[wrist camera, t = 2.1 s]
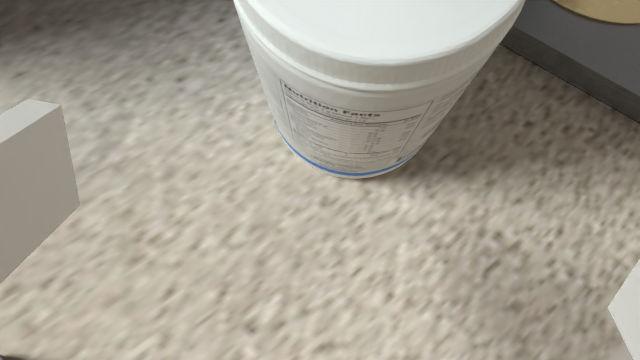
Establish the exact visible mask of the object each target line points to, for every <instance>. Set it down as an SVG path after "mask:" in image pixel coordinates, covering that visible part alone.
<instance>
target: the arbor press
mask: <svg viewBox="0 0 640 360" xmlns="http://www.w3.org/2000/svg"><path fill="white" fill-rule="evenodd" d="M500 44H501V45H503V46H505V47H506V48H508V49H510V50H512V51H514V52H515V53H517V54H519V55H521V56H522V57H524V58H526V59H528V60H529V61H531V62H533V63H535V64H536V65H538V66H540V67H542V68H544V69H545V70H547V71H549V72H551V73H552V74H554V75H556V76H558V77H559V78H561V79H563V80H565V81H566V82H568V83H570V84H572V85H574V86H575V87H577V88H579V89H581V90H582V91H584V92H586V93H588V94H589V95H591V96H593V97H595V98H597V99H598V100H600V101H602V102H604V103H605V104H607V105H609V106H611V107H612V108H614V109H616V110H618V111H619V112H621V113H623V114H625V115H627V116H628V117H630V118H632V119H634V120H635V121H637V122H639V123H640V0H525V2H524V5H523V7H522V10H521V12H520V13H519V15H518V17H517V19H516V20H515V22H514V24H513V26H512V27H511V29H510V30H509V31H508V33H507V34H506V35H505V37H504V38H503V40H502V41H501V42H500Z"/></svg>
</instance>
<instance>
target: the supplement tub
mask: <svg viewBox="0 0 640 360" xmlns="http://www.w3.org/2000/svg"><path fill="white" fill-rule="evenodd" d="M233 1H234V4H235V7H236V10H237V13H238V16H239V19H240V23H241V26H242V28H243V31H244V34H245V37H246V40H247V43H248V46H249V49H250V52H251V55H252V57H253V60H254V63H255V66H256V69H257V72H258V75H259V78H260V81H261V84H262V87H263V90H264V93H265V96H266V99H267V102H268V105H269V108H270V111H271V114H272V117H273V120H274V122H275V125H276V127H277V130H278V132H279V134H280V136H281V138H282V139H283V141H284V142H285V144H286V145H287V146H288V148H289V149H290V150H291V151H292V152H293V153H294V154H295V155H296V156H297V157H298V158H299V159H300V160H302V161H303V162H304V163H306V164H307V165H309V166H311V167H312V168H314V169H316V170H318V171H320V172H323V173H325V174H328V175H331V176H335V177H341V178H348V179H359V178H369V177H373V176H378V175H381V174H384V173H387V172H390V171H392V170H394V169H396V168H398V167H400V166H401V165H403V164H404V163H405V162H407V161H408V160H409V159H411V158H412V157H413V156H414V155H415V154H416V153H417V152H418V151H419V150H420V149H421V147H422V146H423V145H424V144H425V142H426V141H427V140H428V139H429V137H430V136H431V135H432V133H433V132H434V131H435V129H436V128H437V127H438V125H439V124H440V123H441V121H442V120H443V119H444V117H445V116H446V115H447V113H448V112H449V111H450V109H451V108H452V107H453V105H454V104H455V103H456V101H457V100H458V99H459V97H460V96H461V95H462V93H463V92H464V91H465V89H466V88H467V87H468V85H469V84H470V83H471V82H472V80H473V79H474V78H475V76H476V75H477V74H478V72H479V71H480V70H481V68H482V67H483V66H484V64H485V63H486V62H487V60H488V59H489V57H490V56H491V55H492V53H493V52H494V50H495V49H496V47H497V46H498V45H499V44H500V42H501V41H502V40H503V38H504V37H505V35H506V34H507V33H508V31H509V30H510V29H511V27H512V26H513V24H514V22H515V20H516V19H517V17H518V15H519V13H520V12H521V10H522V7H523V5H524V2H525V0H233Z"/></svg>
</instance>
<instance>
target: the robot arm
mask: <svg viewBox="0 0 640 360" xmlns="http://www.w3.org/2000/svg"><path fill="white" fill-rule="evenodd" d="M79 206H80V202H79V197H78V192H77V186H76V181H75V176H74V170H73V165H72V160H71V154H70V149H69V144H68V138H67V133H66V128H65V122H64V117H63V112H62V106H61V105H60V104H54V103H49V102H43V101H38V100H32V99H27V100H25V101H24V102H22V103H20V104H18V105H16V106H15V107H13V108H11V109H9V110H8V111H6V112H4V113H2V114H0V283H2V282H3V281H4V280H5V279H6V278H7V277H8V276H9V275H10V274H11V273H12V272H13V271H14V270H15V269H16V268H17V267H18V266H19V265H20V264H21V263H22V262H23V261H24V260H25V259H26V258H27V257H28V256H29V255H30V254H31V253H32V252H33V251H34V250H35V249H36V248H37V247H38V246H39V245H40V244H41V243H42V242H43V241H44V240H45V239H46V238H47V237H48V236H49V235H50V234H51V233H52V232H53V231H54V230H55V229H56V228H57V227H58V226H59V225H60V224H61V223H62V222H63V221H64V220H65V219H67V218H68V217H69V216H70V215H71V214H72V213H73V212H74V211H75V210H76V209H77V208H78V207H79ZM608 309H609V311H610V313H611V316H612V318H613V320H614V322H615V324H616V326H617V328H618V330H619V332H620V334H621V336H622V338H623V340H624V342H625V344H626V346H627V348H628V350H629V352H630V354H631V356H632V358H633V360H640V259H639V260H638V262H637V263H636V265H635V267H634V268H633V270H632V271H631V273H630V274H629V276H628V277H627V279H626V280H625V282H624V283H623V285H622V286H621V288H620V289H619V291H618V292H617V294H616V295H615V297H614V298H613V300H612V301H611V303H610V304H609V306H608Z"/></svg>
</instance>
